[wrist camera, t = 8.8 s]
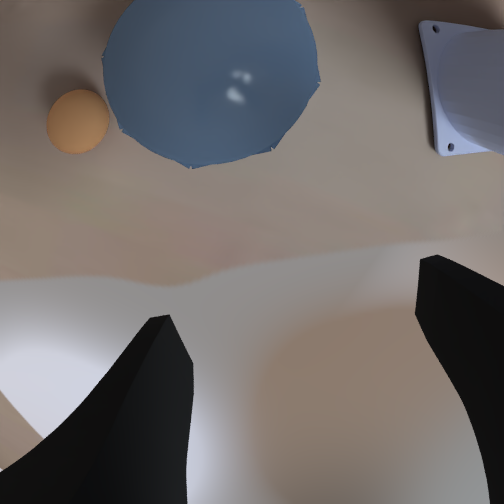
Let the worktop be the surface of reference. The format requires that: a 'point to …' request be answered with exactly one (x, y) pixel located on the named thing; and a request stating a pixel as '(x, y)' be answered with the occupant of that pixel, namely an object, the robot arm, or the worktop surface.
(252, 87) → the cup
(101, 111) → the ball
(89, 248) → the worktop surface
